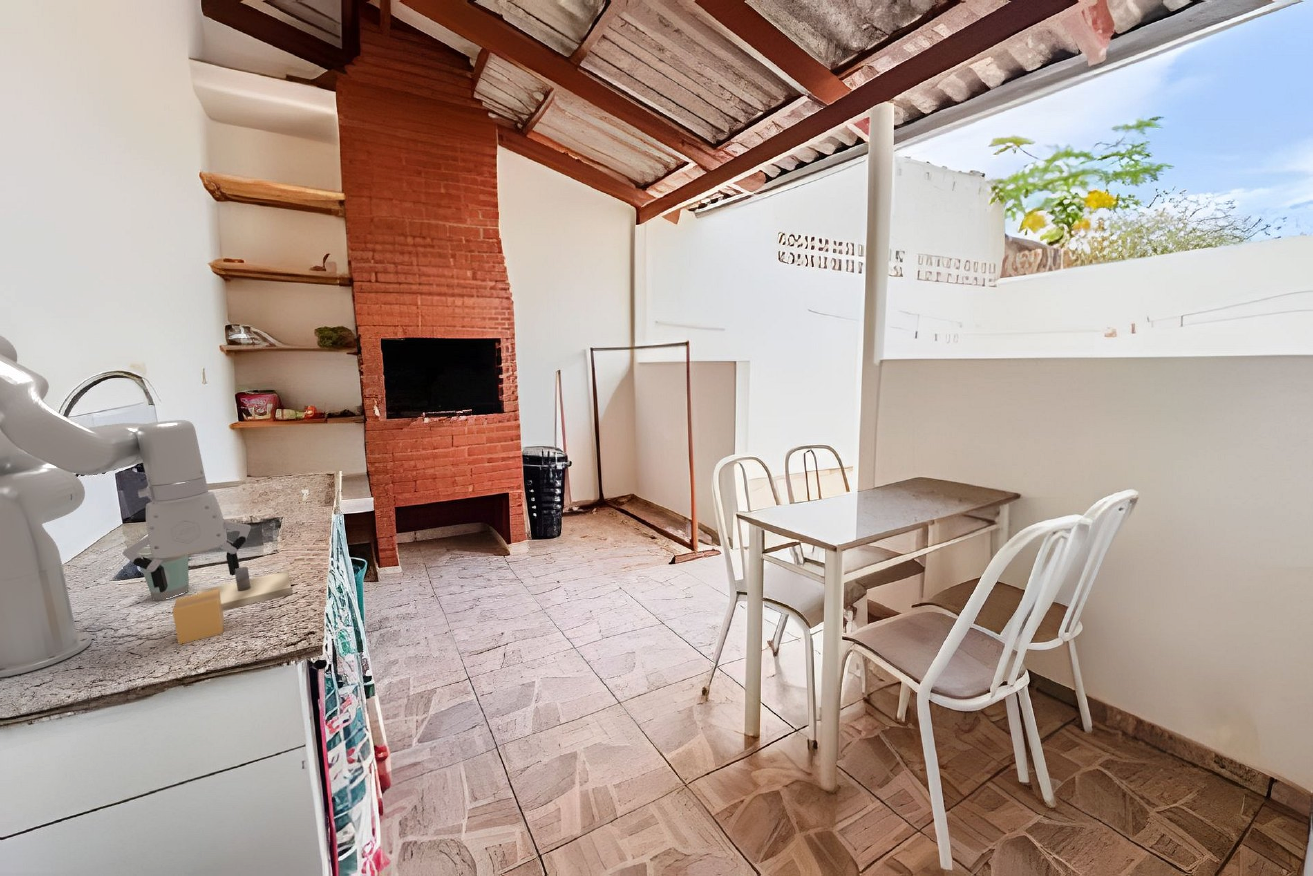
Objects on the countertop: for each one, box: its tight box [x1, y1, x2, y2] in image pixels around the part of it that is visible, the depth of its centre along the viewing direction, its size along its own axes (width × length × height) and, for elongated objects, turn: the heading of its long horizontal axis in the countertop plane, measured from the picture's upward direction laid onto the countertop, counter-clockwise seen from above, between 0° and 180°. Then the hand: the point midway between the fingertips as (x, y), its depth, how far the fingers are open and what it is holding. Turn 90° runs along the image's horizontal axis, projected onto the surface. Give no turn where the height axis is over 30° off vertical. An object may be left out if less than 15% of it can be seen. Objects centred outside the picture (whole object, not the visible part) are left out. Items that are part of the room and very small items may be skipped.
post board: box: [196, 566, 293, 611], centre depth 111 cm, size 16×12×6 cm
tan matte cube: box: [172, 589, 225, 645], centre depth 96 cm, size 6×6×6 cm
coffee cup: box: [138, 545, 190, 601], centre depth 113 cm, size 8×8×12 cm
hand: (199, 581), depth 95 cm, fingers open, 9 cm apart
